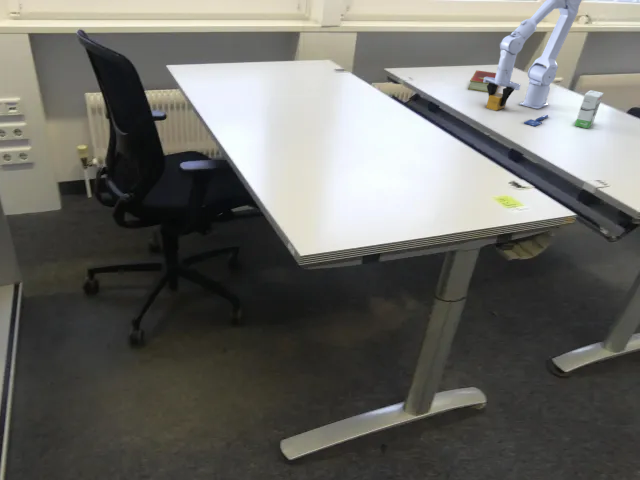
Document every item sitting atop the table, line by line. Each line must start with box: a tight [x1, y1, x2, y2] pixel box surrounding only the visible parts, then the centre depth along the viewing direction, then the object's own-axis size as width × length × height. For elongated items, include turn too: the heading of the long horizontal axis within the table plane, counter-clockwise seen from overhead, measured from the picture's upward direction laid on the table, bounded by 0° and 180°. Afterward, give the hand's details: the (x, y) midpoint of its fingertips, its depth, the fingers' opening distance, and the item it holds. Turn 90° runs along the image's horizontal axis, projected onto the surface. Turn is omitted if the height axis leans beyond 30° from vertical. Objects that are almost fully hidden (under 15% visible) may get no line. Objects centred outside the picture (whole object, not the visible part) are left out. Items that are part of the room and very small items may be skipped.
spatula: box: [523, 114, 549, 127], centre depth 209 cm, size 15×4×1 cm, turn 133°
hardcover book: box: [467, 70, 500, 93], centre depth 249 cm, size 12×21×4 cm, turn 156°
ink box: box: [574, 90, 604, 129], centre depth 205 cm, size 9×5×12 cm, turn 142°
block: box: [485, 92, 507, 112], centre depth 221 cm, size 7×4×5 cm, turn 133°
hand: (496, 104), depth 222 cm, fingers closed on block, 4 cm apart
